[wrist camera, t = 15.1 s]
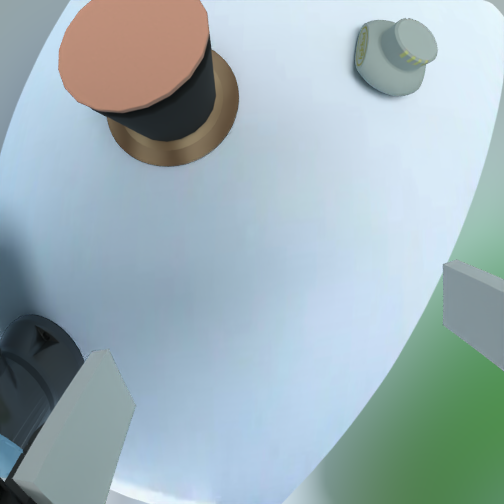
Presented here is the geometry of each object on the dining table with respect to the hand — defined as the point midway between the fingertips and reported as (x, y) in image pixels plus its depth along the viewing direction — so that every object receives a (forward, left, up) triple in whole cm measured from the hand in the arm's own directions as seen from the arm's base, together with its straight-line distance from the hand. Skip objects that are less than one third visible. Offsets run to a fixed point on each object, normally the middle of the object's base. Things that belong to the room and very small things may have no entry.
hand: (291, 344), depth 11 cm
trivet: (-5, +17, -29) cm, 34 cm away
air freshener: (+23, +18, -29) cm, 41 cm away
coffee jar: (-5, +17, -28) cm, 33 cm away
